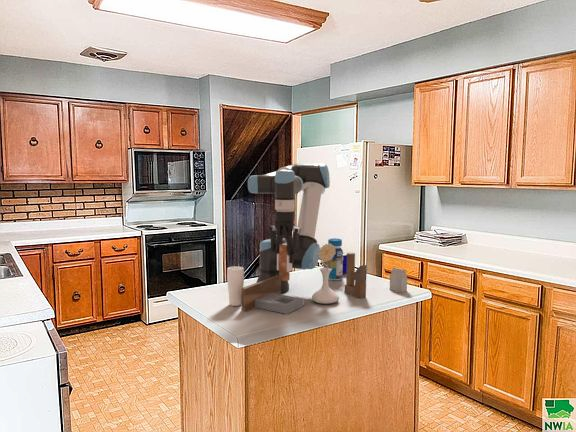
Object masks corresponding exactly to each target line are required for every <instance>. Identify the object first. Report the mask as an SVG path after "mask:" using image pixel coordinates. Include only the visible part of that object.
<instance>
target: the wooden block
mask: <svg viewBox="0 0 576 432" xmlns="http://www.w3.org/2000/svg"><path fill="white" fill-rule="evenodd" d="M346 254H347V274H346V275H345V277H346V280H345V281H346V284H344V290H343V292H344V293H345V294H348V295H350V296H353V297H355V298H358V299H364V298H366V296H367V272H368V271H367V269H368V268H367V267H368V266H367V264H363V265H359V267H357V269H356V253H355V252H346Z"/></svg>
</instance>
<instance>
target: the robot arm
mask: <svg viewBox="0 0 576 432" xmlns="http://www.w3.org/2000/svg"><path fill="white" fill-rule="evenodd" d="M330 179H331V178H330V171H329V166H328V165H327V164H326V163H293V164H289V165H286V166H282V167H279V168H278V169H277V170H276V171H273V172H269V173H266V174H262V175H261V174H260V175H258V174H256V175H254V174H253V175H250V176H249V178H248V179H247V189H248V192H249V193H251V194H257V195H258V194H262V195H263V194H270V195H271V194H272V195H274V210H276V211H274V220H275V222H274V224H273V225H270V226H268V229H269V233H270V238H268V239H265V240H262V241H261V242H260V243H259V252H258V253H259V274H258V276H257V280H256V283H257V282H260V281H263V280H266V279H269V278H272V277H275V276H279V244H287V247H288V253H289V254H288V255H287V272H293V269H295V270H296V269H298V270H304V271H305V270H313V269H315V267H317V265H318V262H319V260H320V259H319V255H318V254H319V250H320V248H321V246H320V244H319V243H318V240H317V239H316V230H317V222H318V217H319V210H320V204H321V198H322V195H323V194H325V192H326V189H329V188H330V184H331V180H330ZM301 191H302V199H301V204H300V209H299V215H298V219H297V221H298V222H297V226H295V223H294V222H295V207H296V206H295V204H296V203H295V200H296V199H295V195H296V194H299V193H300V192H301ZM289 290H290V283H289V281H281V294H282V293H286V292H289Z"/></svg>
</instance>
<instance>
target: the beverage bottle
mask: <svg viewBox="0 0 576 432" xmlns="http://www.w3.org/2000/svg"><path fill="white" fill-rule="evenodd" d="M327 241H328V243H327V245H328V244H329V243H330V244H332V245H333V246H334V247H335V250H336V251H335V252H336V253H335V255H334V257H332V259H331V263H332V262H334V263H335V265H336V268H330V265H329V263H330V260H329V261H328V260H327V267H328V265H329V267H328V268H330V269H332V270H331V272H330V274H329V278H328V281H341V280H343V277H344V276H343V275H344V274H343V256H342V255H343V253H344V251H343V249H342V245H343V242H342V241H343V240H342V239H341V238H329V239H328V240H327Z"/></svg>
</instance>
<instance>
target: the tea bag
mask: <svg viewBox="0 0 576 432" xmlns="http://www.w3.org/2000/svg"><path fill="white" fill-rule="evenodd" d="M389 290H390V291H394V292H398V293H405V292H407V291H408V276H407V274H406V270H405V269H401V268H398V267H394V266H393V267H392V269H391V273H390V276H389Z"/></svg>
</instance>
